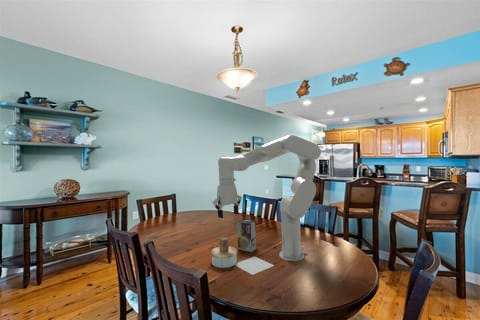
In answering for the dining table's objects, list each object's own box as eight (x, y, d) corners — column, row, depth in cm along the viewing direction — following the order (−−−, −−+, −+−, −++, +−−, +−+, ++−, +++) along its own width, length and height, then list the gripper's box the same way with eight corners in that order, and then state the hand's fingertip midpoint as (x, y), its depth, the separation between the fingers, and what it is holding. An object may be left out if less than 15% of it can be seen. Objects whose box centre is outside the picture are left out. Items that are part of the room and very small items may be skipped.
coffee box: (256, 248, 137) (256, 220, 137) (251, 252, 131) (251, 223, 131) (243, 246, 141) (242, 218, 141) (237, 249, 136) (236, 221, 136)
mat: (254, 257, 125) (254, 256, 125) (274, 266, 114) (274, 265, 114) (233, 265, 116) (233, 264, 116) (252, 275, 105) (252, 274, 105)
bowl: (227, 255, 128) (226, 246, 128) (241, 263, 118) (240, 253, 118) (207, 262, 120) (207, 252, 120) (220, 270, 111) (220, 260, 111)
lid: (227, 246, 128) (227, 233, 128) (242, 253, 118) (242, 239, 118) (206, 252, 120) (206, 238, 120) (220, 260, 110) (220, 245, 110)
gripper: (235, 179, 128) (237, 211, 128) (208, 183, 117) (209, 218, 117) (244, 180, 122) (246, 213, 122) (216, 184, 111) (218, 220, 112)
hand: (228, 215), depth 120 cm, fingers open, 9 cm apart
